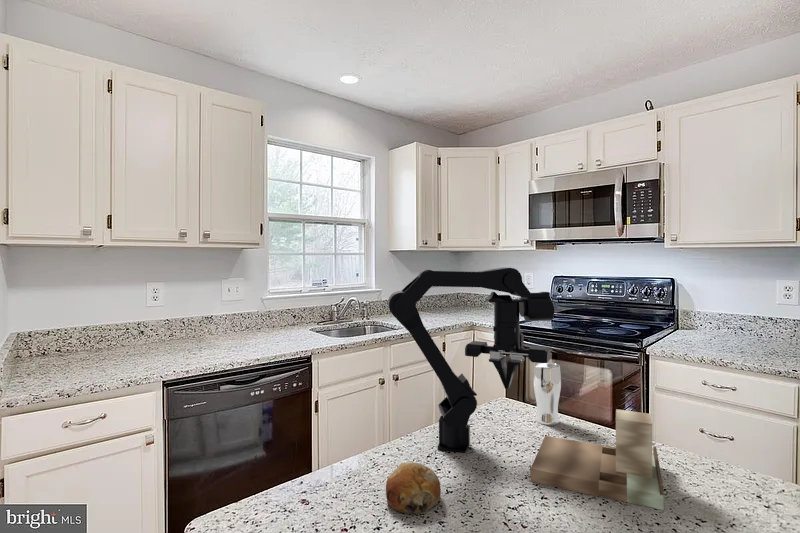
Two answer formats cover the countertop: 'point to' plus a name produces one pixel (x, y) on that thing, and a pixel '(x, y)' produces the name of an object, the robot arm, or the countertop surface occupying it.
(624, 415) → the birch block
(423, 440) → the countertop surface
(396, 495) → the bread roll
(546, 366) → the beer glass
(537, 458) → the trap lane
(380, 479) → the countertop surface
